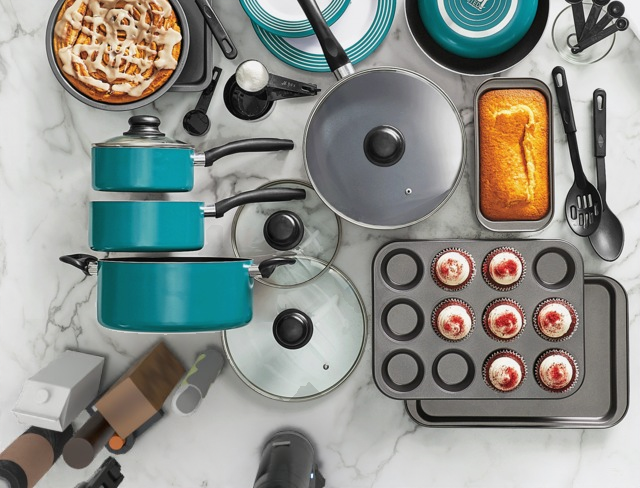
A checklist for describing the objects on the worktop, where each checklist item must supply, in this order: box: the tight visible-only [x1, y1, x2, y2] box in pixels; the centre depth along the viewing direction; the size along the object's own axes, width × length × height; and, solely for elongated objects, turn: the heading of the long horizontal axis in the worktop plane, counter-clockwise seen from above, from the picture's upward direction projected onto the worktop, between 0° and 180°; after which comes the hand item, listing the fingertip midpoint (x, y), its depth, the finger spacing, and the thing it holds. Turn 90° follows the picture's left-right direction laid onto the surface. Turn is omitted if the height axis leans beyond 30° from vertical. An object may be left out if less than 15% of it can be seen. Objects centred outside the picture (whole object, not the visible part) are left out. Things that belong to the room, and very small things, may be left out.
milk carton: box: [10, 349, 106, 432], centre depth 113 cm, size 7×7×19 cm
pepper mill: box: [62, 409, 116, 470], centre depth 110 cm, size 5×5×16 cm
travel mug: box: [0, 423, 74, 488], centre depth 113 cm, size 8×8×20 cm
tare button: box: [109, 433, 126, 450], centre depth 119 cm, size 2×2×2 cm
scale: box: [84, 380, 165, 456], centre depth 121 cm, size 11×11×3 cm
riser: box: [94, 341, 187, 440], centre depth 113 cm, size 7×7×18 cm
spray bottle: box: [171, 348, 225, 418], centre depth 112 cm, size 5×5×20 cm
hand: (87, 485), depth 82 cm, fingers open, 8 cm apart
